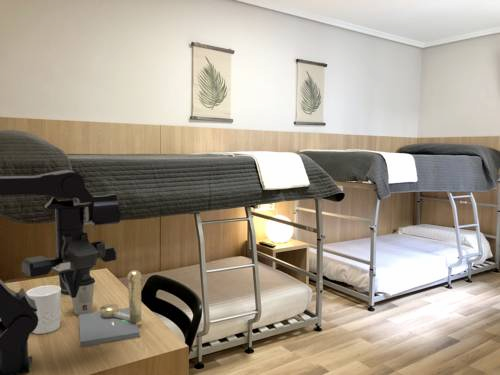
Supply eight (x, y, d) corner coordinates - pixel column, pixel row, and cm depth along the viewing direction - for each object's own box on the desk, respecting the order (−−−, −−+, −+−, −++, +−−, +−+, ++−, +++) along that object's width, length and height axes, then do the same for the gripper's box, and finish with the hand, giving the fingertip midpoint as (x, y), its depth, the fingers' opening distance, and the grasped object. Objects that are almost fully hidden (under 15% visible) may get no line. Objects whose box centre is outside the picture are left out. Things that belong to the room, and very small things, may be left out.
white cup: (30, 324, 110) (28, 287, 109) (63, 320, 113) (61, 283, 112) (26, 337, 103) (24, 297, 102) (61, 332, 105) (59, 293, 104)
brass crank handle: (97, 315, 112) (95, 267, 110) (109, 310, 116) (108, 262, 114) (135, 325, 106) (133, 273, 105) (146, 319, 110) (145, 269, 109)
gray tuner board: (139, 336, 103) (139, 331, 103) (80, 346, 98) (79, 341, 98) (131, 311, 119) (131, 307, 118) (79, 319, 113) (79, 314, 113)
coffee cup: (90, 316, 115) (89, 281, 114) (65, 316, 115) (63, 281, 114) (99, 307, 122) (98, 273, 121) (75, 307, 122) (74, 273, 121)
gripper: (38, 240, 80) (42, 320, 81) (128, 227, 93) (130, 295, 94) (18, 232, 87) (22, 305, 89) (104, 220, 101) (106, 284, 102)
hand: (73, 297), depth 93 cm, fingers closed
